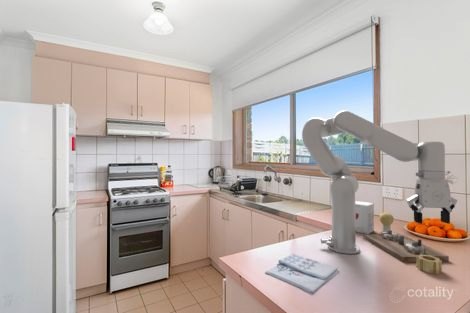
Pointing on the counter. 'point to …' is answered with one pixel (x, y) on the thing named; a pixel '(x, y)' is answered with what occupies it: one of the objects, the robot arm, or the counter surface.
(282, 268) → the folded cloth napkin
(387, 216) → the light bulb
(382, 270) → the counter surface
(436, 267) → the brass gear
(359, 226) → the supplement box
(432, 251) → the gear board
